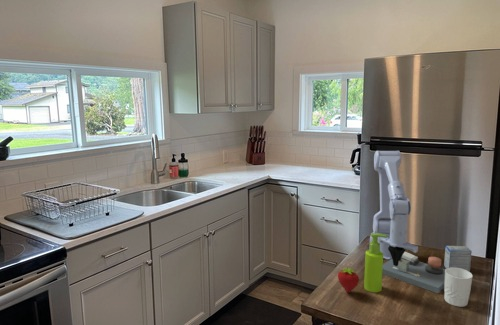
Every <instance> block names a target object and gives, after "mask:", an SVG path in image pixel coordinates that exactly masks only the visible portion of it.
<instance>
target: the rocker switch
mask: <svg viewBox="0 0 500 325" xmlns="http://www.w3.org/2000/svg"><path fill="white" fill-rule="evenodd" d="M402 258H404V259H406V260H409V261H411V262H413V263H414V262H415V261H417V260H419V257H418V256H416V255H414V254H412V253H409V252H407V251H405V252H404V253H403V255H402Z"/></svg>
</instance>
